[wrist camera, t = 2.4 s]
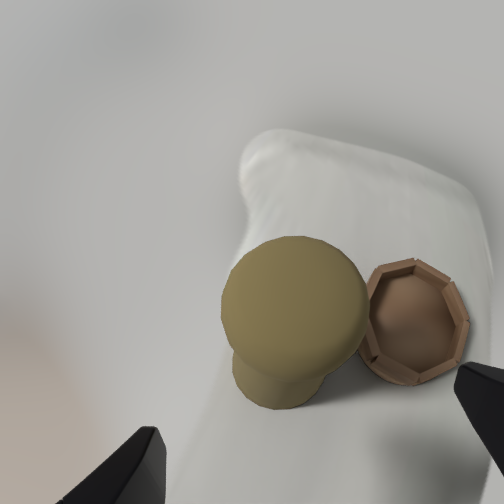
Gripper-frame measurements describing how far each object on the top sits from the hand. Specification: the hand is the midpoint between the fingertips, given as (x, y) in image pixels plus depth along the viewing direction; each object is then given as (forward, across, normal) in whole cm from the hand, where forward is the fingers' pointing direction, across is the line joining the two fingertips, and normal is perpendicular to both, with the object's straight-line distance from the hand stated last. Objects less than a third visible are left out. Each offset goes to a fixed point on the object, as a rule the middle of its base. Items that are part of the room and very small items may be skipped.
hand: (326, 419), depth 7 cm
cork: (+11, 0, +5) cm, 12 cm away
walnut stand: (+11, -10, +4) cm, 15 cm away
